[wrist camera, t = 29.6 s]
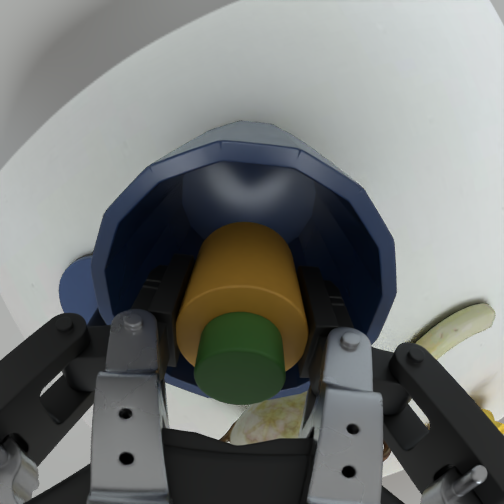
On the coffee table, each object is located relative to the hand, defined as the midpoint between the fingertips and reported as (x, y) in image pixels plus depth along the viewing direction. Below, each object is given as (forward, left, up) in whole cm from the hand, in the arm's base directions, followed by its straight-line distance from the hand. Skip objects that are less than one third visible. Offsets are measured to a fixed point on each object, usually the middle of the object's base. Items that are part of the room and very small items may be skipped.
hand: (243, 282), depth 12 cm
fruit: (+24, -14, -12) cm, 30 cm away
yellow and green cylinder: (0, 0, -1) cm, 1 cm away
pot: (0, 0, -12) cm, 12 cm away
